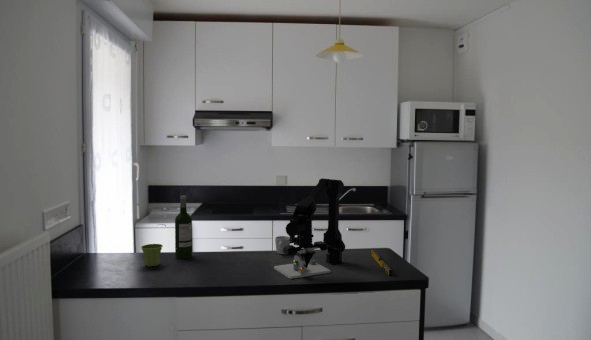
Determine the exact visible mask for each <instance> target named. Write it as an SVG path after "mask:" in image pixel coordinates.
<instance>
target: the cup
mask: <svg viewBox="0 0 591 340" xmlns="http://www.w3.org/2000/svg"><path fill="white" fill-rule="evenodd" d="M289 238H290V236H288V235H287V236H286V235H279V236H276V237H275V238H274V241H275V252H276V253H277V254H278V255H286V254H285V253H283V248H284V246H288V245H291V243H290V240H289Z"/></svg>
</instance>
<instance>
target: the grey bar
mask: <svg viewBox="0 0 591 340" xmlns="http://www.w3.org/2000/svg"><path fill="white" fill-rule="evenodd" d="M293 256H294V257H293V258H294V259H293V262H292V264H293V269H294V270H298V271H299V272H300V274H304V272H305V266H304V263H303V261H302V259H300V258H301V257H300V256H299V255H293Z"/></svg>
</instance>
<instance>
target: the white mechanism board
mask: <svg viewBox="0 0 591 340" xmlns="http://www.w3.org/2000/svg"><path fill="white" fill-rule="evenodd" d="M273 269H274V270H276V271H277V272H278V273H279V274H281V275H283V276H285V277H286V278H288V279H289V278H290V279H289V280H293V278H294V279H298V278H304V277H310V276H312V277H313V276H317V275H323V274H330V273H331V269H329V268H327V267H325V266H323V265H321V264H320V263H317V261H316V260H315V259H313V257H312V258H311V260H310V262H309V264H308V267H307V268H305V272H304V274H300V272H299V271H298V270H294V269H293V263H286V264H281V265H280V264H279V265H274V266H273Z"/></svg>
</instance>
